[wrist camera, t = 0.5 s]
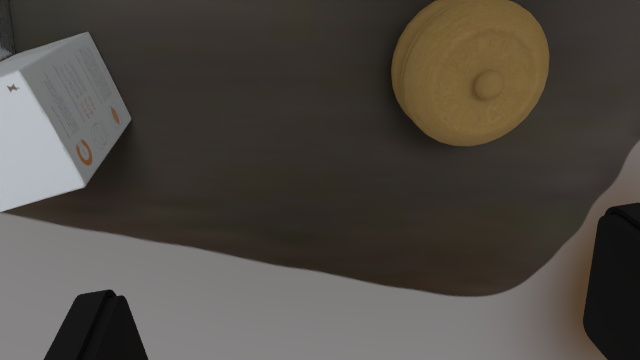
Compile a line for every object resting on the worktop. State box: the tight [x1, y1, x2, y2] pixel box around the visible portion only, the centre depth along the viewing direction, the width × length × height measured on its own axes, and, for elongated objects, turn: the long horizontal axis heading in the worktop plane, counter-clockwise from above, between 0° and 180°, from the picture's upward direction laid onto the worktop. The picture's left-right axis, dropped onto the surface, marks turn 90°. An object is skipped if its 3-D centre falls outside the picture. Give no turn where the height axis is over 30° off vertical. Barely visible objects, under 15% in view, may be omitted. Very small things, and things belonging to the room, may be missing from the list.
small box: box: [0, 32, 131, 212], centre depth 36 cm, size 8×6×13 cm
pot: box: [391, 0, 549, 146], centre depth 39 cm, size 12×12×10 cm
